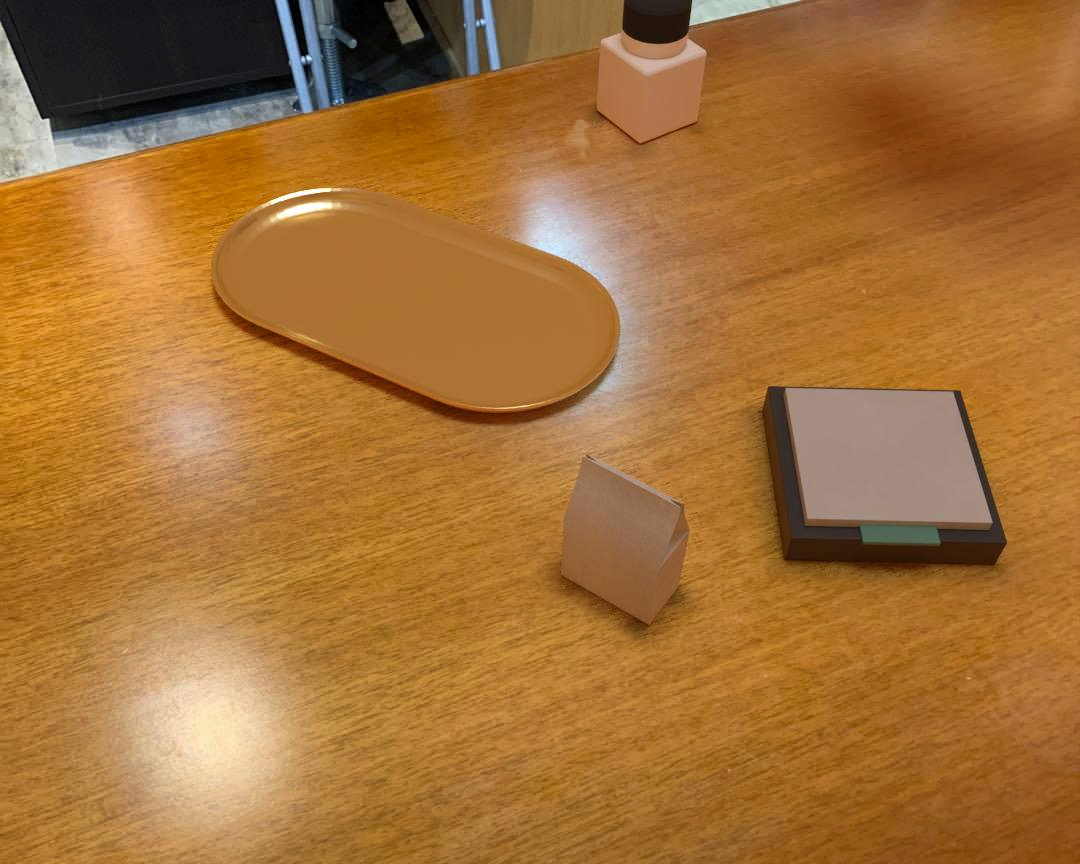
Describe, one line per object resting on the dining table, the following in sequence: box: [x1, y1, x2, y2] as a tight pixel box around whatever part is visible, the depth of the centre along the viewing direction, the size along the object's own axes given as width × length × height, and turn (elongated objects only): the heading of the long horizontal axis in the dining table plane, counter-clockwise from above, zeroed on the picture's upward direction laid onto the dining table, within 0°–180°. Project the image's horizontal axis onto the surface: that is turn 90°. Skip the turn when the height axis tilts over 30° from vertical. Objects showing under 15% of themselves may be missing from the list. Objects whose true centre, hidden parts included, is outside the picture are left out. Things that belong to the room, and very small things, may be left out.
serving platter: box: [210, 187, 621, 414], centre depth 87 cm, size 19×35×2 cm, turn 61°
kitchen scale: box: [762, 385, 1008, 565], centre depth 75 cm, size 14×14×3 cm
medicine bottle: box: [596, 0, 708, 144], centre depth 100 cm, size 7×7×12 cm
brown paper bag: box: [560, 453, 691, 626], centre depth 67 cm, size 4×7×10 cm, turn 55°
